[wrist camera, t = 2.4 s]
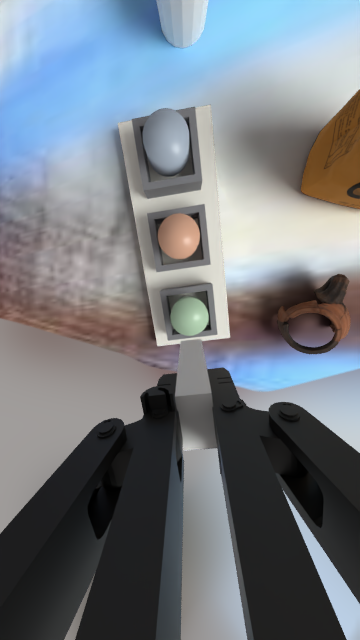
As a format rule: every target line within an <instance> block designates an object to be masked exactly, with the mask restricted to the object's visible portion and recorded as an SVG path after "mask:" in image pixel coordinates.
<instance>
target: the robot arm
mask: <svg viewBox="0 0 360 640" xmlns="http://www.w3.org/2000/svg"><path fill="white" fill-rule="evenodd" d="M140 398H141V402H142V407H143V412H144V416H143V418H142V419H141V420H139V421H137V422H134V423H131V424H128V425H125V426H124V422H123V421H122V420H121V419H117V418H113V419H108V420H105V421H103V422H101V423H99V424H98V425H96V426H95V427H94V428H93V429H92V430H91V431H90V432H89V434H88V435H87V436H86V437H85V438H84V440H82V442H81V443H80V444H79V445H78V446H77V447H76V448H75V449H74V451H73V452H72V453H71V454H70V455H69V456H68V458H67V459H66V460H65V461H64V462H63V463H62V464H61V466H60V467H59V468H58V469H57V470H56V471H55V472H54V473H53V475H52V476H51V477H50V478H49V479H48V480H47V481H46V482H45V484H44V485H43V486H42V487H41V488H40V489H39V490H38V492H37V493H36V494H35V495H34V496H33V497H32V498H31V499H30V501H29V502H28V503H27V504H26V505H25V506H24V507H23V509H22V510H21V511H20V512H19V513H18V514H17V515H16V516H15V518H14V519H13V520H12V521H11V522H10V523H9V524H8V526H7V527H6V528H5V529H4V530H3V531H2V533H1V534H0V640H64V639H65V636H66V634H67V632H68V630H69V628H70V626H71V623H72V621H73V619H74V617H75V615H76V613H77V610H78V608H79V606H80V604H81V602H82V600H83V598H84V595H85V593H86V591H87V589H88V587H89V585H90V582H91V580H92V578H93V576H94V574H95V576H94V580H93V583H92V586H91V590H90V593H89V596H88V599H87V603H86V606H85V609H84V612H83V616H82V619H81V622H80V626H79V629H78V632H77V636H76V639H75V640H181V639H180V636H181V587H182V534H183V484H184V460H183V454H182V447H183V449H184V451H186V450H198V449H210V448H218V456H219V465H220V474H221V476H222V482H223V489H224V495H225V501H226V508H227V514H228V520H229V526H230V532H231V538H232V545H233V552H234V557H235V564H236V570H237V577H238V583H239V589H240V595H241V602H242V607H243V614H244V620H245V626H246V633H247V639H248V640H346V637H345V635H344V632H343V630H342V628H341V625H340V623H339V621H338V618H337V616H336V614H335V611H334V609H333V607H332V604H331V602H330V600H329V597H328V595H327V593H326V590H325V588H324V586H323V583H322V581H321V579H320V577H319V574H318V572H317V569H316V567H315V565H314V562H313V560H312V558H311V556H310V553H309V551H308V548H307V546H306V544H305V541H304V539H303V537H302V534H301V532H300V530H299V527H298V525H297V523H296V520H295V518H294V516H293V513H292V511H291V509H290V506H289V504H288V502H287V499H286V497H285V495H284V492H285V494H286V495H287V496H288V498H289V499H290V501H291V502H292V504H293V505H294V507H295V508H296V510H297V511H298V513H299V514H300V516H301V517H302V519H303V520H304V522H305V523H306V525H307V526H308V528H309V529H310V531H311V532H312V534H313V535H314V537H315V538H316V539H317V541H318V542H319V544H320V545H321V547H322V548H323V550H324V551H325V553H326V554H327V556H328V557H329V559H330V560H331V562H332V563H333V565H334V566H335V568H336V569H337V571H338V572H339V574H340V575H341V576H342V578H343V580H344V581H345V583H346V584H347V586H348V587H349V588H350V590H351V591H352V593H353V594H354V596H355V597H356V599H357V600H358V602H359V603H360V453H359V452H357V451H356V450H355V449H354V448H352V447H351V446H350V445H349V444H347V443H346V442H345V441H343V440H342V439H341V438H340V437H339V436H337V435H336V434H335V433H334V432H332V431H331V430H330V429H329V428H327V427H326V426H325V425H324V424H322V423H321V422H320V421H319V420H317V419H316V418H315V417H314V416H312V415H311V414H310V413H308V412H307V411H306V410H305V409H303V408H302V407H300V406H298V405H296V404H293V403H288V402H278V403H275V404H273V405H271V406H270V408H269V412H268V411H260V410H255V409H252V408H249V407H248V406H246V404H245V403H244V401H243V400H241V399H240V398H239V395H238V393H237V390H236V388H235V385H234V383H233V380H232V378H231V376H230V373H229V371H227V370H226V369H225V368H215V369H207V366H206V361H205V356H204V351H203V346H202V340H201V339H195V340H186V341H181V343H180V353H179V362H178V372H177V373H175V374H166V375H163V376H162V377H161V378H160V379H159V381H158V384H157V386H156V387H152V388H150V389H148V390H146V391H145V392H143V394H142V395H141V397H140ZM282 489H283V490H282ZM283 491H284V492H283ZM95 572H96V573H95Z"/></svg>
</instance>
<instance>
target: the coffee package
mask: <svg viewBox="0 0 360 640" xmlns="http://www.w3.org/2000/svg"><path fill="white" fill-rule="evenodd" d="M301 191H302V193H304V194H306V195H308V196H311V197H314V198H318V199H322V200H326V201H329V202H332V203H336V204H340V205H344V206H349V207H354V208H358V209H360V90H359V91H358V92H357V93H356V94H355V95H354V96H353V97H352V98H351V99H350V100H349V101H348V102H347V104H346V105H345V106H344V107H343V108H342V109H341V110H340V111H339V112H338V113H337V114H336V115H335V116H334V117H333V118H332V119H331V120H330V121H329V123H328V124H327V125H326V126H325V127H324V128H323V129H322V130H321V132H320V133H319V135H318V137H317V139H316V141H315V143H314V145H313V147H312V149H311V151H310V153H309V156H308V159H307V164H306V167H305V170H304V174H303V178H302V185H301Z"/></svg>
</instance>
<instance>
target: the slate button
mask: <svg viewBox="0 0 360 640" xmlns="http://www.w3.org/2000/svg"><path fill="white" fill-rule="evenodd" d="M143 144H144V148H145V150H146V153H147V156H148V159H149V162H150V164H151V166H152V168H153V169H154V170H155V171H156V172H157V173H158V174H160V175H162V176H166V177H171V176H175V175H177V174H179V173H180V172H181V171H182V170H183V169H184V167H185V166H186V164H187V161H188V157H189V130H188V126H187V123H186V121H185V120H184V118H183V117H182V116H181V115H180V114H179V113H178V112H177V111H175V110H172V109H168V108H164V109H159V110H157V111H155V112H154V113H152V114H151V115H150V116H149V118H148V119H147V121H146V123H145V125H144V129H143Z"/></svg>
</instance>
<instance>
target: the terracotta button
mask: <svg viewBox="0 0 360 640" xmlns="http://www.w3.org/2000/svg"><path fill="white" fill-rule="evenodd" d="M199 240H200V232H199V228H198V226H197V224H196V222H195V221H194V220H193V219H192V218H191V217H190V216H188V215H185V214H181V213H177V214H173V215H170V216H168V217H167V218H166V219H165V220H164V221H163V222H162V223H161V225H160V227H159V231H158V241H159V245H160V247H161V249H162V250H163V251H164V252H165V253H166V254H167V255H168V256H170V257H171V258H173V259H177V260H182V259H186V258H188V257H190V256H191V255H192V254H193V253H194V252H195V250H196V248H197V246H198V244H199Z"/></svg>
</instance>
